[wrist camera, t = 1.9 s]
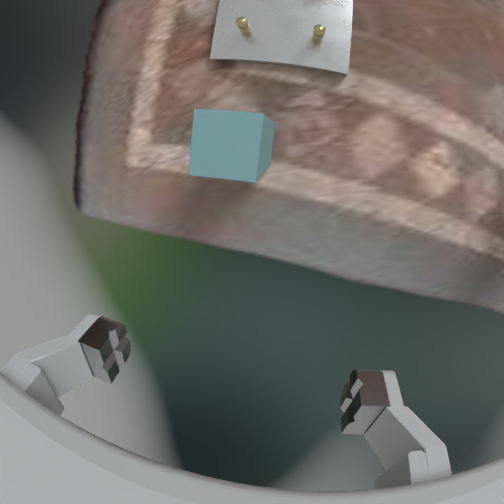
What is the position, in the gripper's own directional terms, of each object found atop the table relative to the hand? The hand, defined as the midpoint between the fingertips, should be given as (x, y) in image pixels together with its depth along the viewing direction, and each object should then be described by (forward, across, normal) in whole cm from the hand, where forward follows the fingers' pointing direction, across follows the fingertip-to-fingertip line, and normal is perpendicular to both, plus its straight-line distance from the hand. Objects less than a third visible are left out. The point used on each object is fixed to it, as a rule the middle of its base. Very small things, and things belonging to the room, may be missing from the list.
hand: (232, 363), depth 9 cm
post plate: (+28, +2, -23) cm, 36 cm away
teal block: (+27, +4, -5) cm, 28 cm away
